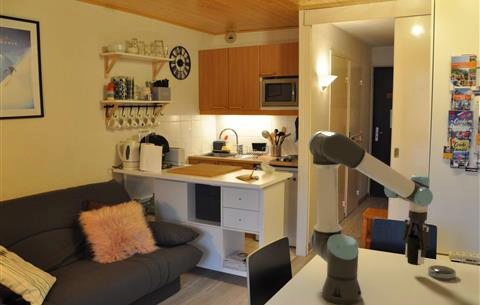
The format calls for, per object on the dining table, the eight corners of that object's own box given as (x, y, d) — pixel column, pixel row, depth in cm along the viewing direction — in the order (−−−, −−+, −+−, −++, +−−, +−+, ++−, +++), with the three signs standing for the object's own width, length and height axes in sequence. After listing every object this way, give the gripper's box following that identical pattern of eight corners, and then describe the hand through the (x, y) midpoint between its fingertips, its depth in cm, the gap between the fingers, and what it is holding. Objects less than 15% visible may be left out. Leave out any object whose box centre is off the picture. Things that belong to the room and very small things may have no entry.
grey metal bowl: (440, 281, 183) (440, 275, 182) (422, 272, 193) (422, 266, 193) (461, 278, 186) (461, 272, 186) (442, 269, 196) (442, 263, 196)
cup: (420, 260, 194) (422, 234, 193) (425, 266, 186) (428, 240, 185) (402, 259, 195) (404, 233, 193) (407, 265, 187) (409, 239, 186)
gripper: (442, 215, 179) (438, 268, 182) (409, 204, 199) (406, 252, 201) (427, 216, 177) (423, 269, 180) (395, 205, 197) (392, 253, 199)
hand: (414, 260), depth 190 cm, fingers closed on cup, 8 cm apart
